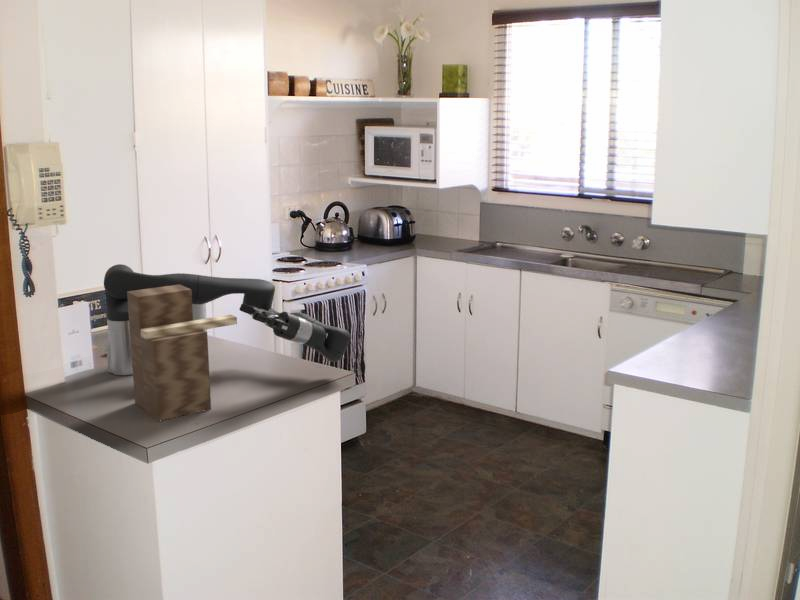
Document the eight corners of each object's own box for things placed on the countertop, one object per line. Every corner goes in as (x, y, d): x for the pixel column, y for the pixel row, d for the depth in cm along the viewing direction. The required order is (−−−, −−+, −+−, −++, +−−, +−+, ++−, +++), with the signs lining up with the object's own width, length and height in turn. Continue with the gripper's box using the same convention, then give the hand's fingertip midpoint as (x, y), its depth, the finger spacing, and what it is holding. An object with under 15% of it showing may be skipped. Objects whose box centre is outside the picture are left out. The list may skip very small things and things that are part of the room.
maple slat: (231, 321, 240) (231, 314, 239) (237, 324, 237) (236, 317, 236) (140, 336, 224) (140, 329, 224) (145, 339, 222) (145, 332, 221)
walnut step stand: (185, 392, 247) (179, 284, 240) (211, 409, 234) (205, 295, 226) (135, 403, 238) (126, 291, 231) (158, 421, 225) (150, 303, 218)
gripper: (287, 310, 255) (242, 292, 245) (310, 323, 244) (264, 305, 234) (276, 332, 255) (231, 316, 245) (299, 347, 244) (252, 330, 234)
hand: (247, 310), depth 239 cm, fingers open, 8 cm apart
